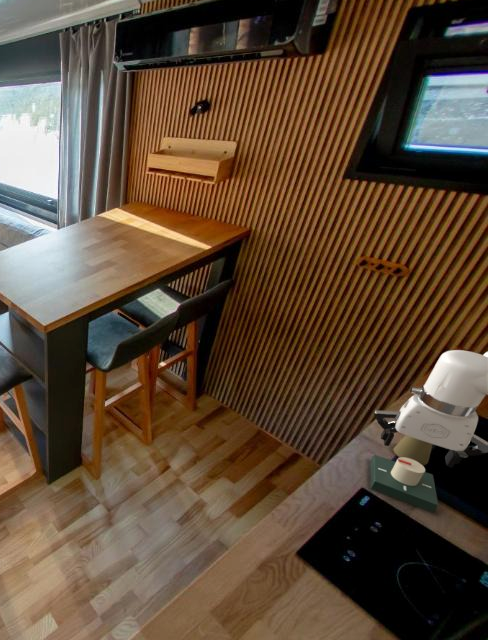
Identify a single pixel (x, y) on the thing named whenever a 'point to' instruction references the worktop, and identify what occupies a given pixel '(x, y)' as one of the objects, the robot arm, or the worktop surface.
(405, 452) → the cork
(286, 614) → the worktop surface
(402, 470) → the grip knob
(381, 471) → the panel
